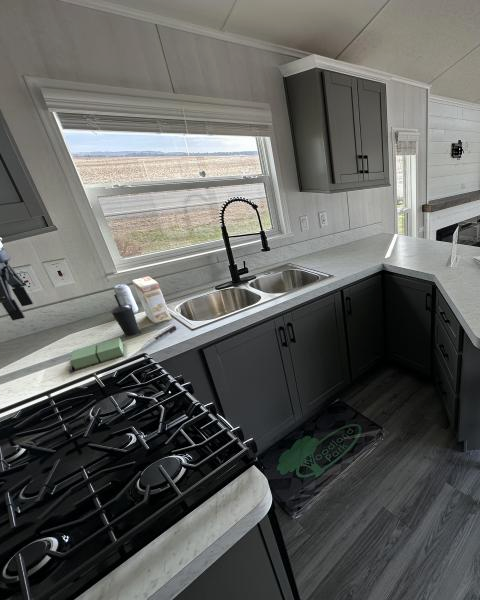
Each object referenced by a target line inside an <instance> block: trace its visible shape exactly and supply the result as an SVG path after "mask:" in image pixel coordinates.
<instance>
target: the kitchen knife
mask: <svg viewBox="0 0 480 600" xmlns="http://www.w3.org/2000/svg"><path fill="white" fill-rule="evenodd" d="M175 330H177V327H176V325H173V326H171V327H170V328H168V329H166V330H165V331H163V332H162V333H160V334H159V335H157V336H156V337H155V338H152V340H150V341H149V342H147V343H145V344H144V345H143V346H142V347H141V349H144V348H145V347H147V346H148V345H150V344H151V343H152V342H154V341H156V340H158V339H160V338H162V337H163V336H165V335H166V334H168V333H169V334H170V333H172V332H174V331H175Z"/></svg>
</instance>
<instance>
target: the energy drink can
mask: <svg viewBox="0 0 480 600" xmlns="http://www.w3.org/2000/svg"><path fill="white" fill-rule="evenodd" d="M113 288H114V289H113V292H114V295H116V296H117V298H118V300H119V302H120V305H123V304H130V305H132V309H133V312H134V314H136V313H137V312H138V311H139V307H138V305H137V303H136V300H135V297H134V295H133V293H132V291H131V288H130V286H128V285H127V284H126V283H122V284H121V283H120V284H117V285H114V287H113Z"/></svg>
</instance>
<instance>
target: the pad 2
mask: <svg viewBox="0 0 480 600" xmlns="http://www.w3.org/2000/svg"><path fill="white" fill-rule="evenodd" d="M123 344H124V343H123V342H122V340H121V337H116V338H113V339H109V340H106V341H105V340H104V341H101V342H98V343H97V355H98V357H99V359H100V361H101V362H102V361H105V360H109V359H112V358H115V357H118V356H122V355H123Z"/></svg>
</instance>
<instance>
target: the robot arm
mask: <svg viewBox="0 0 480 600" xmlns="http://www.w3.org/2000/svg"><path fill="white" fill-rule="evenodd" d="M2 241H3V238H2V237H0V304H1V305H2V306H3V308H4V309H5V311H6V312H7V314H8V316H9V317H10V319H11V320H12V321H17V320H18V321H19V320H22V319H25V318H26V316H25V315H24V312H23V311H22V310H21V308H20V306H19V305H18V302H19V304H20V305H21V307H25V306H26V307H27V306H31V305H34V302H33V300H32V299H31V297H30V295H29V293H28V292H27V290H26V288H25V287H26V286H27V283H26V282H24V280H23V279H22V278H21V277H20V276H19V274H18V273H17V272H16V270H14V268H13V267H12V266H11V264H10V263H9V261H11V259H12V258H11V256H10V255H9V253H8V251H7V249H6V248H3V247H4V245H3V243H2ZM10 287H11V290H12V292H13V294H14V296H15V297H16V299H17V300H18V302H17V301H16V299H15V298H13V295H12V292H11V290H10Z"/></svg>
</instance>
